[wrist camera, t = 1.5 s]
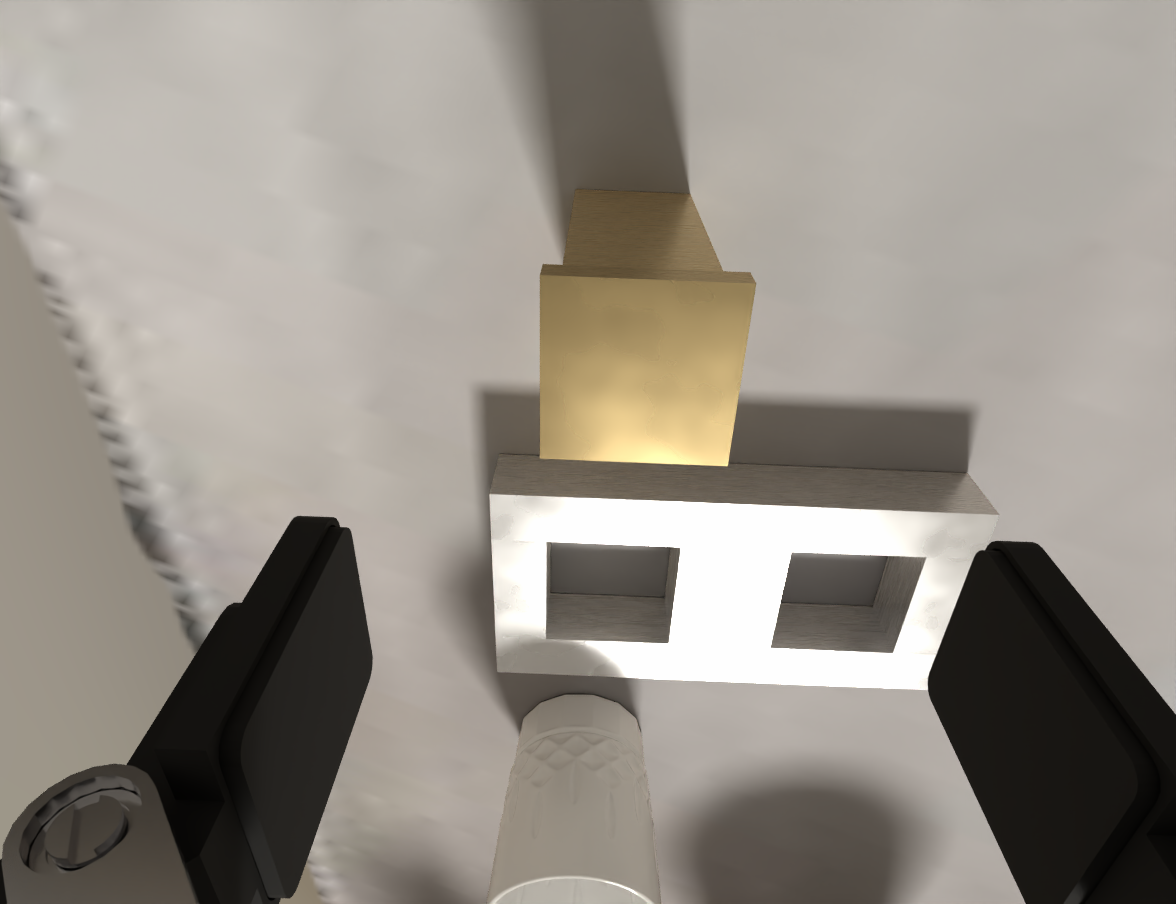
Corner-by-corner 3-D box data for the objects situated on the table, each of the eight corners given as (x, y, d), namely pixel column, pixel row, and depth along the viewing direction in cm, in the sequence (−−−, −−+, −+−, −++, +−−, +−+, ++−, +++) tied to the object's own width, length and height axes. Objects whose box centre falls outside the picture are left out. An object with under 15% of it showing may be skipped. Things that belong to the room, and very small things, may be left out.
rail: (967, 473, 32) (999, 514, 29) (907, 641, 37) (929, 690, 34) (498, 454, 32) (489, 494, 29) (504, 625, 37) (496, 672, 34)
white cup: (521, 673, 39) (497, 864, 30) (668, 697, 39) (684, 890, 31) (500, 766, 43) (473, 958, 34) (633, 786, 43) (639, 979, 35)
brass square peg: (702, 181, 26) (756, 283, 16) (688, 313, 28) (727, 466, 19) (564, 176, 26) (539, 274, 16) (562, 308, 28) (539, 458, 19)
